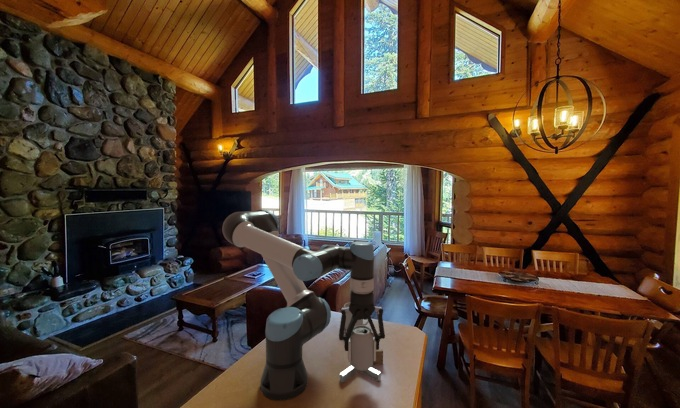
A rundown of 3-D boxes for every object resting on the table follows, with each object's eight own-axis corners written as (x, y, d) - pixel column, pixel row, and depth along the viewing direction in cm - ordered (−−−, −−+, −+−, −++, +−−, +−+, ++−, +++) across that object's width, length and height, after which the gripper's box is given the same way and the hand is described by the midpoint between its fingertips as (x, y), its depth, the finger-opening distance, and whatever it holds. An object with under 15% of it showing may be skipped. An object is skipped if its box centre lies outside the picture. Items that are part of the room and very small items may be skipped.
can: (372, 373, 89) (373, 335, 88) (348, 371, 90) (349, 334, 89) (373, 359, 96) (373, 324, 96) (351, 357, 97) (351, 323, 97)
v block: (339, 383, 93) (339, 376, 93) (338, 369, 101) (338, 362, 101) (381, 381, 94) (381, 374, 94) (376, 367, 102) (376, 360, 102)
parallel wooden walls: (358, 365, 103) (358, 352, 103) (353, 345, 116) (354, 333, 116) (382, 364, 104) (383, 351, 103) (375, 344, 117) (375, 332, 117)
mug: (339, 326, 133) (340, 305, 132) (354, 320, 139) (354, 300, 139) (356, 335, 125) (356, 312, 124) (370, 328, 131) (371, 306, 131)
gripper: (330, 295, 87) (330, 367, 88) (396, 293, 89) (395, 364, 90) (330, 287, 95) (330, 353, 96) (390, 285, 96) (389, 351, 97)
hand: (361, 359), depth 93 cm, fingers closed on can, 7 cm apart
